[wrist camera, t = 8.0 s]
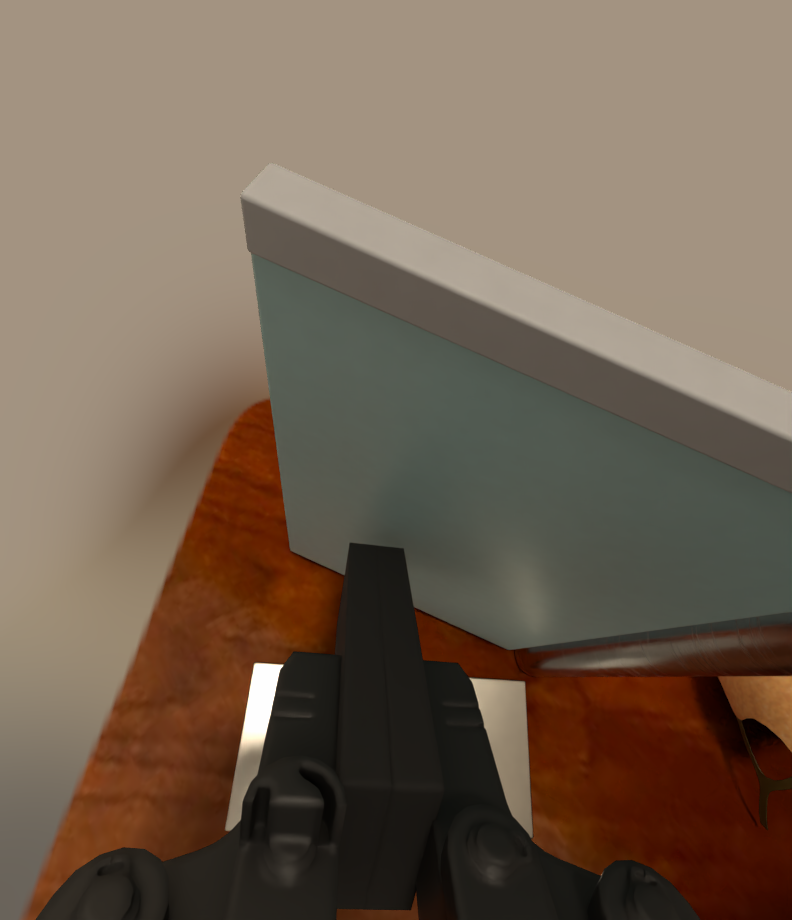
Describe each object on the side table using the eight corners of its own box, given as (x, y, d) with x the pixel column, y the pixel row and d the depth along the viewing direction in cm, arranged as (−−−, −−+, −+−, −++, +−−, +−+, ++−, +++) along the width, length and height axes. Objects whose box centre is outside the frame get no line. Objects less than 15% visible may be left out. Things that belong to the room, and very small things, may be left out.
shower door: (288, 551, 20) (237, 193, 5) (316, 498, 21) (340, 83, 6) (508, 652, 19) (1105, 577, 5) (524, 592, 21) (1044, 391, 6)
